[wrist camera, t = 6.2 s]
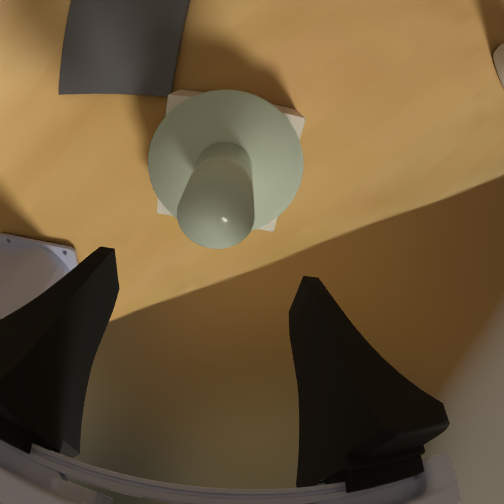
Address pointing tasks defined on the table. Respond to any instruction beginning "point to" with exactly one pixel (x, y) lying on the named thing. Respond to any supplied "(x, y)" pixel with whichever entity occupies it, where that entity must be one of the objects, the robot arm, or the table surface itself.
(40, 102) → the table surface
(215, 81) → the table surface
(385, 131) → the table surface
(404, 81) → the table surface
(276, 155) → the lid
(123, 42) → the mat
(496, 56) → the eye dropper bottle
